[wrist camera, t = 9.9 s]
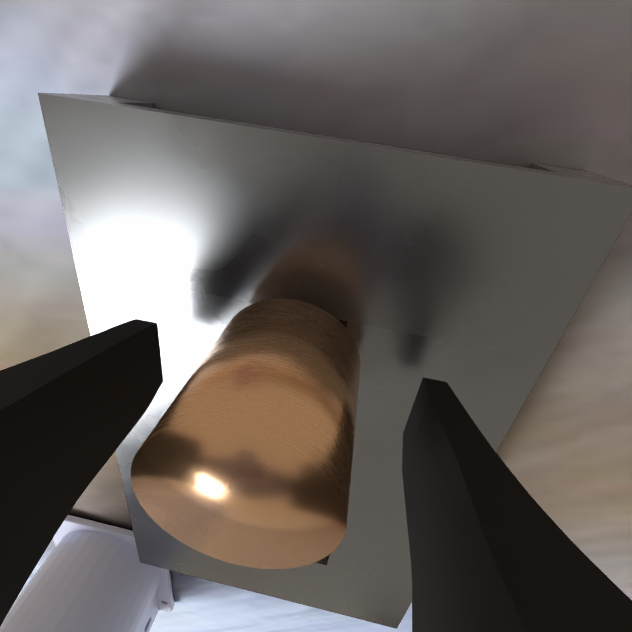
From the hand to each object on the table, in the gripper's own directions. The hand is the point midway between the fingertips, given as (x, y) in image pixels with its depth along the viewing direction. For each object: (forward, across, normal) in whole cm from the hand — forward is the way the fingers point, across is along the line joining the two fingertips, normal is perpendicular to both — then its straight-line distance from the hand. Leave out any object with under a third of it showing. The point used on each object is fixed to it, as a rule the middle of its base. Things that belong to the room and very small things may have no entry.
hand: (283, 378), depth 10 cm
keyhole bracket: (+4, 0, +5) cm, 7 cm away
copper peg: (+4, 0, 0) cm, 4 cm away
